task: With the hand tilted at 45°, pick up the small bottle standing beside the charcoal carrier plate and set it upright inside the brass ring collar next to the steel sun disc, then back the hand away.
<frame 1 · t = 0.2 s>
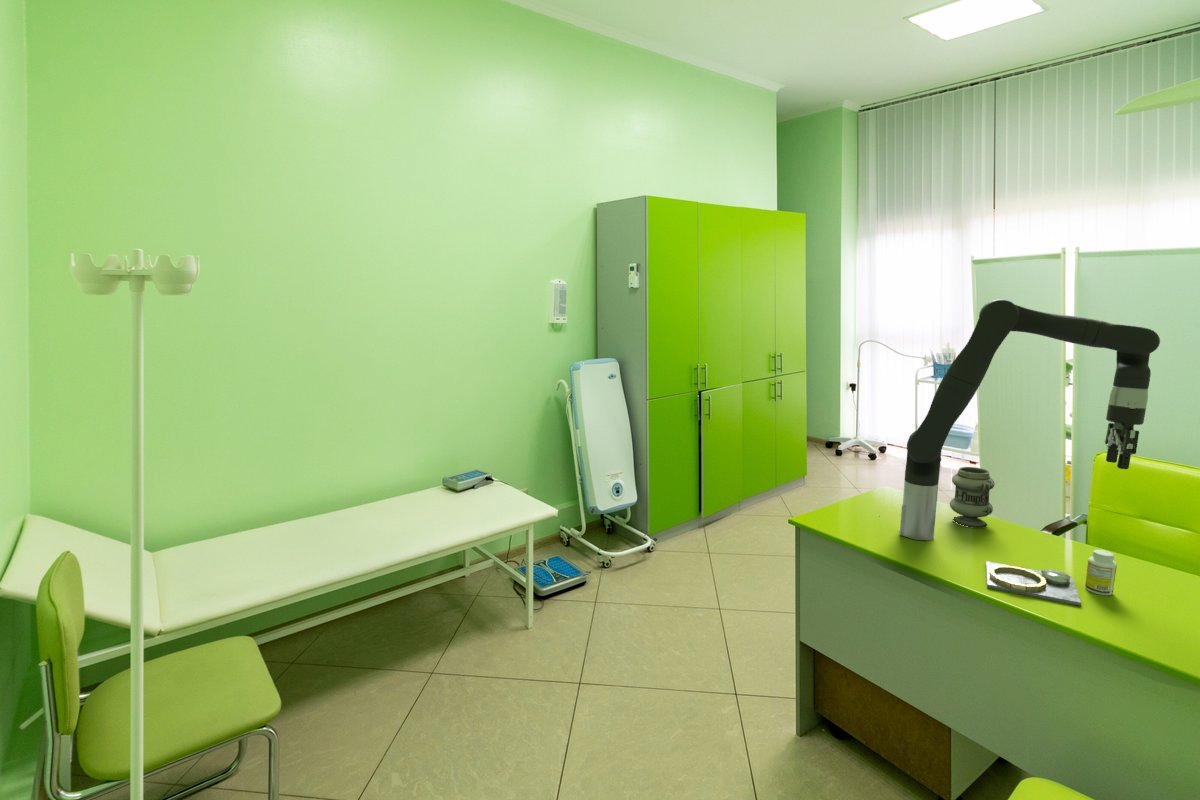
hand: (1116, 465, 162), 29 cm above the table, tool pointing down, fingers open, 8 cm apart
supplement bottle: (1098, 591, 154), on the table
carrier plate: (1029, 583, 158), on the table
apothecary jar: (969, 523, 201), on the table
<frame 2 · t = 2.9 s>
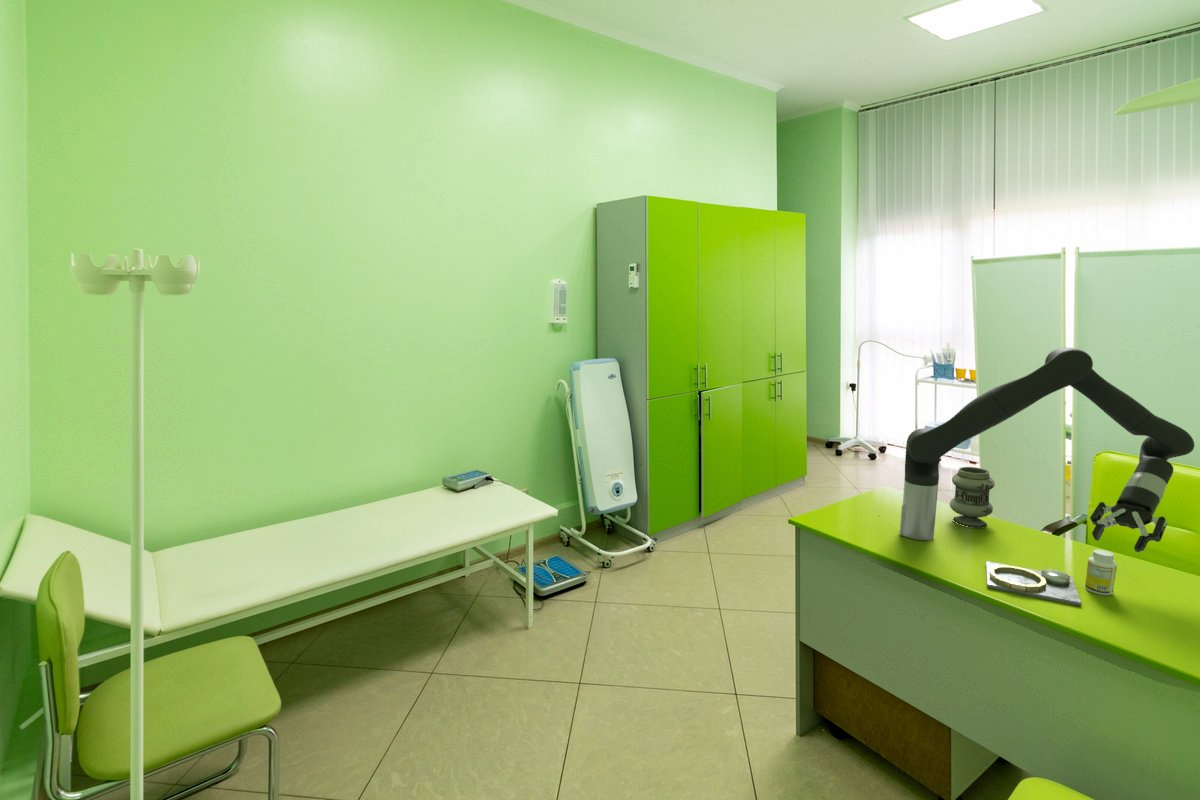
hand: (1115, 544, 156), 11 cm above the table, tool tilted 45°, fingers open, 8 cm apart
nothing on the table moved.
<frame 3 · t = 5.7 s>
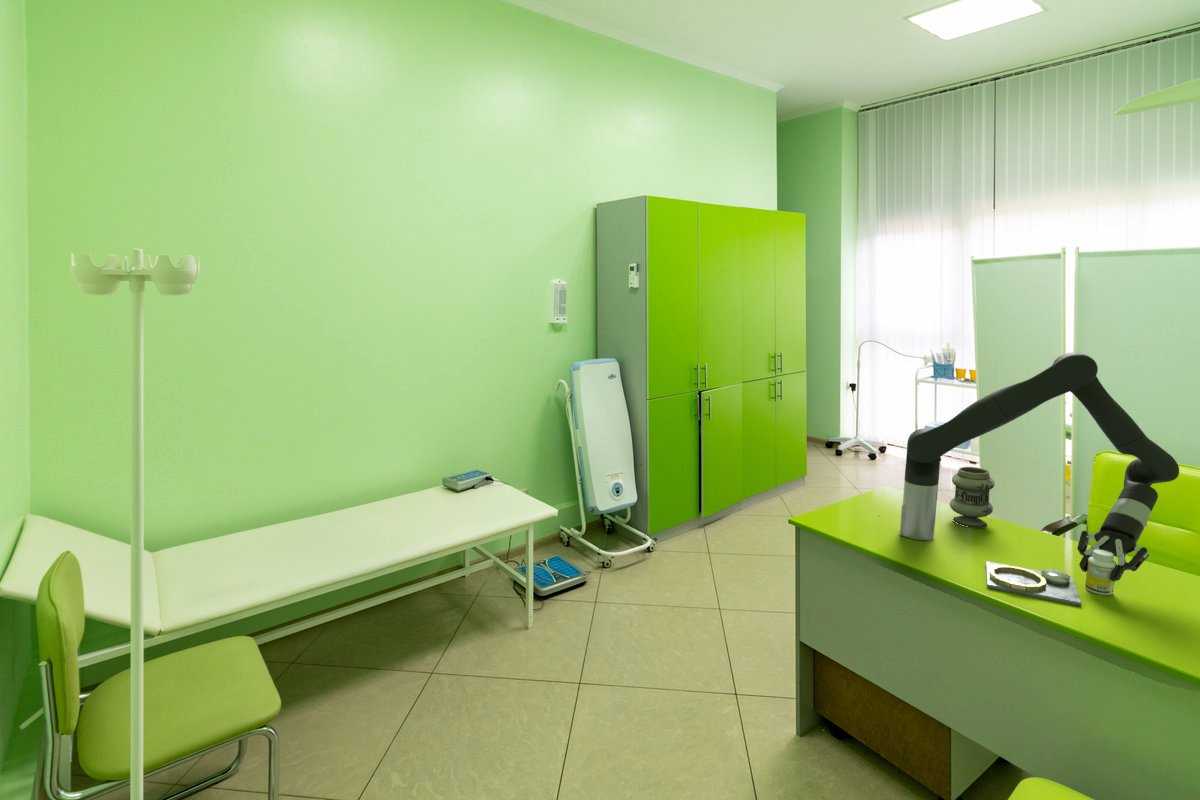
hand: (1097, 574, 153), 5 cm above the table, tool tilted 45°, fingers closed on supplement bottle, 5 cm apart
supplement bottle: (1098, 591, 154), on the table, touching gripper
everything else where it was.
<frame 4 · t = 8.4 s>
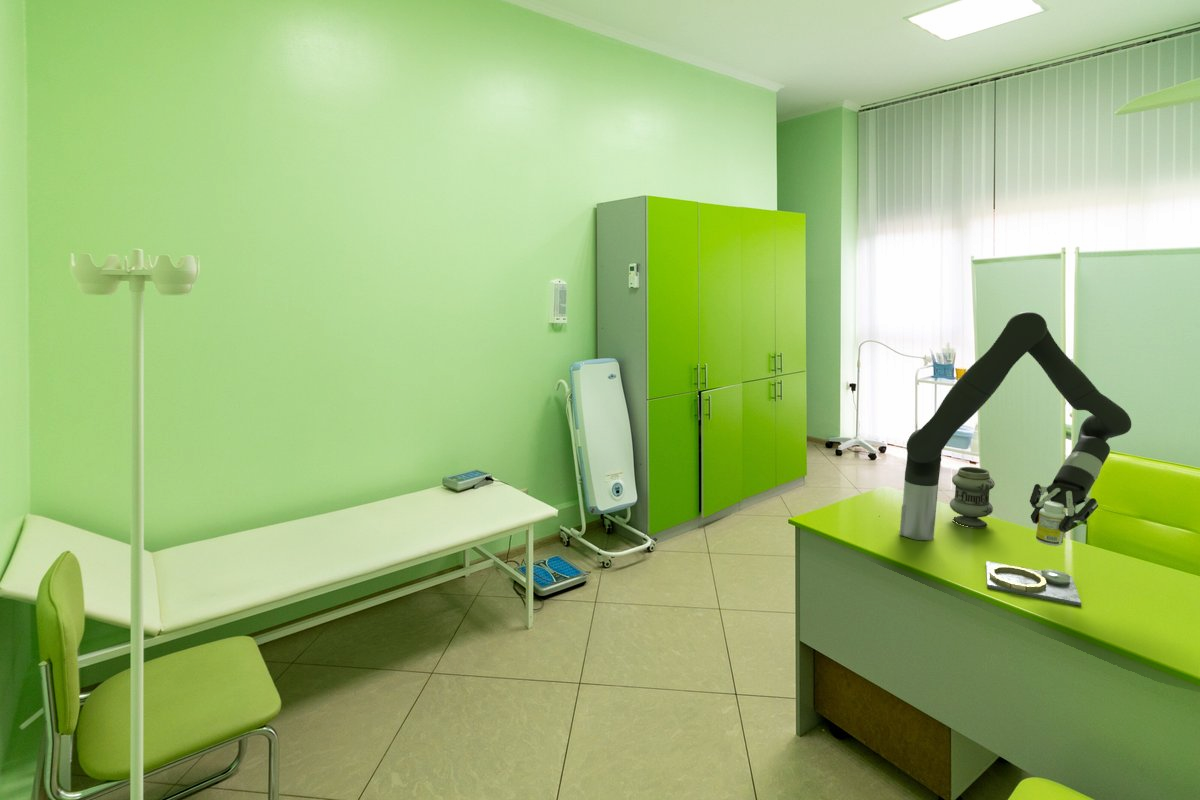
hand: (1047, 525, 154), 16 cm above the table, tool tilted 45°, fingers closed on supplement bottle, 5 cm apart
supplement bottle: (1048, 543, 156), point 11 cm above the table, touching gripper
everything else where it was.
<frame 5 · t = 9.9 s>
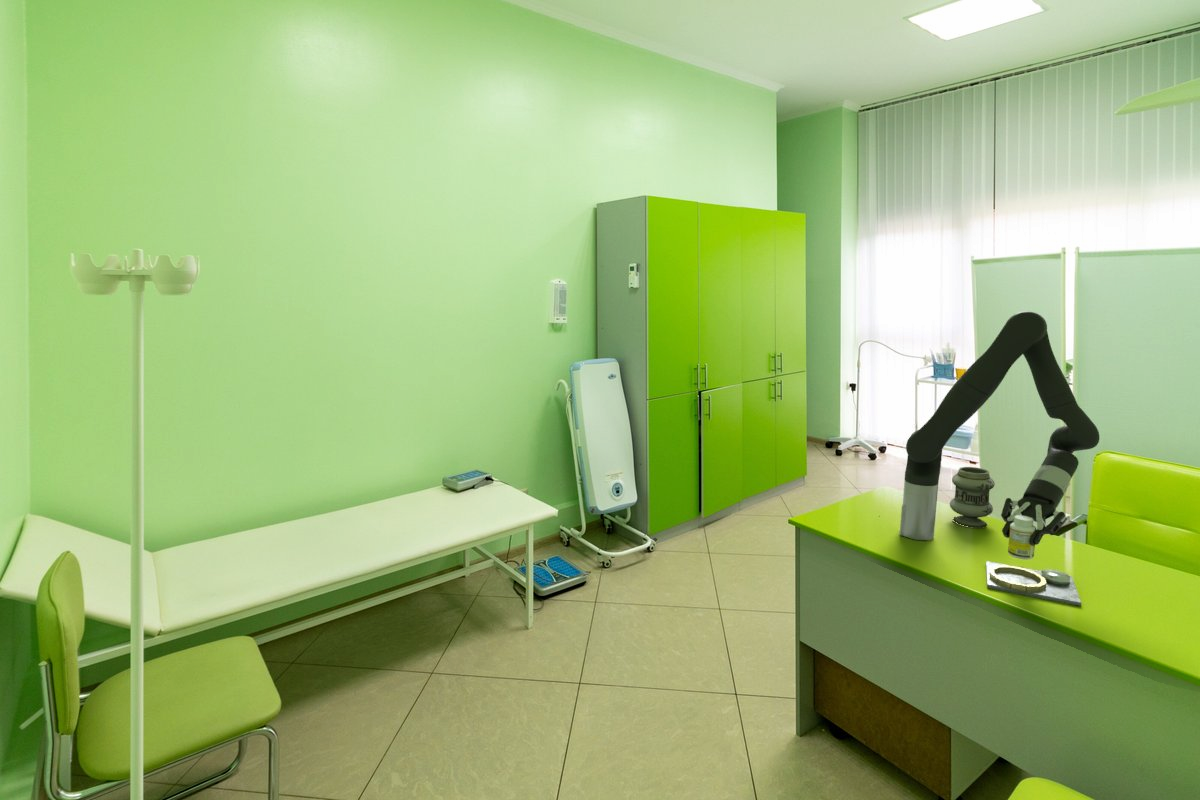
hand: (1018, 539, 156), 12 cm above the table, tool tilted 45°, fingers closed on supplement bottle, 5 cm apart
supplement bottle: (1020, 556, 157), point 7 cm above the table, touching gripper
everything else where it was.
when the fingers open (7 cm above the table, at t = 11.3 s): supplement bottle drops 1 cm, resting on carrier plate.
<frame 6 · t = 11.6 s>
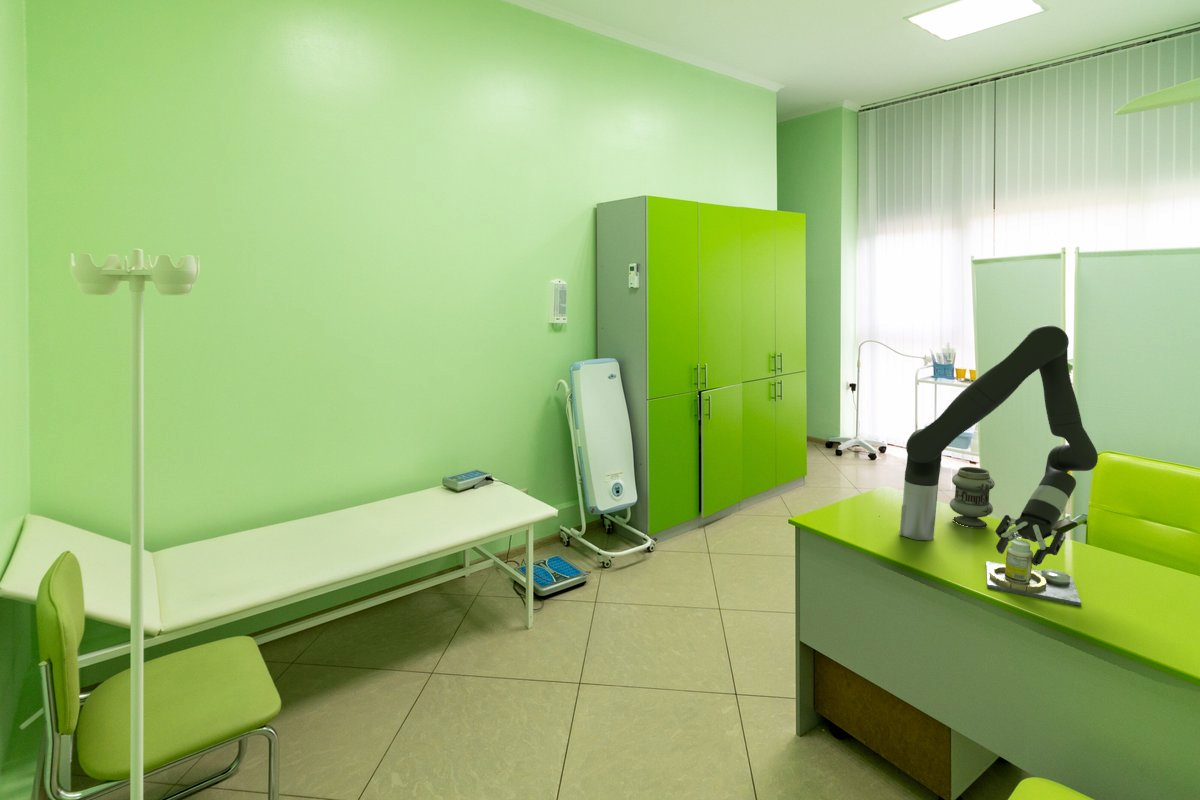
hand: (1016, 557, 157), 7 cm above the table, tool tilted 45°, fingers open, 8 cm apart
supplement bottle: (1016, 580, 159), point 1 cm above the table, touching carrier plate
everything else where it was.
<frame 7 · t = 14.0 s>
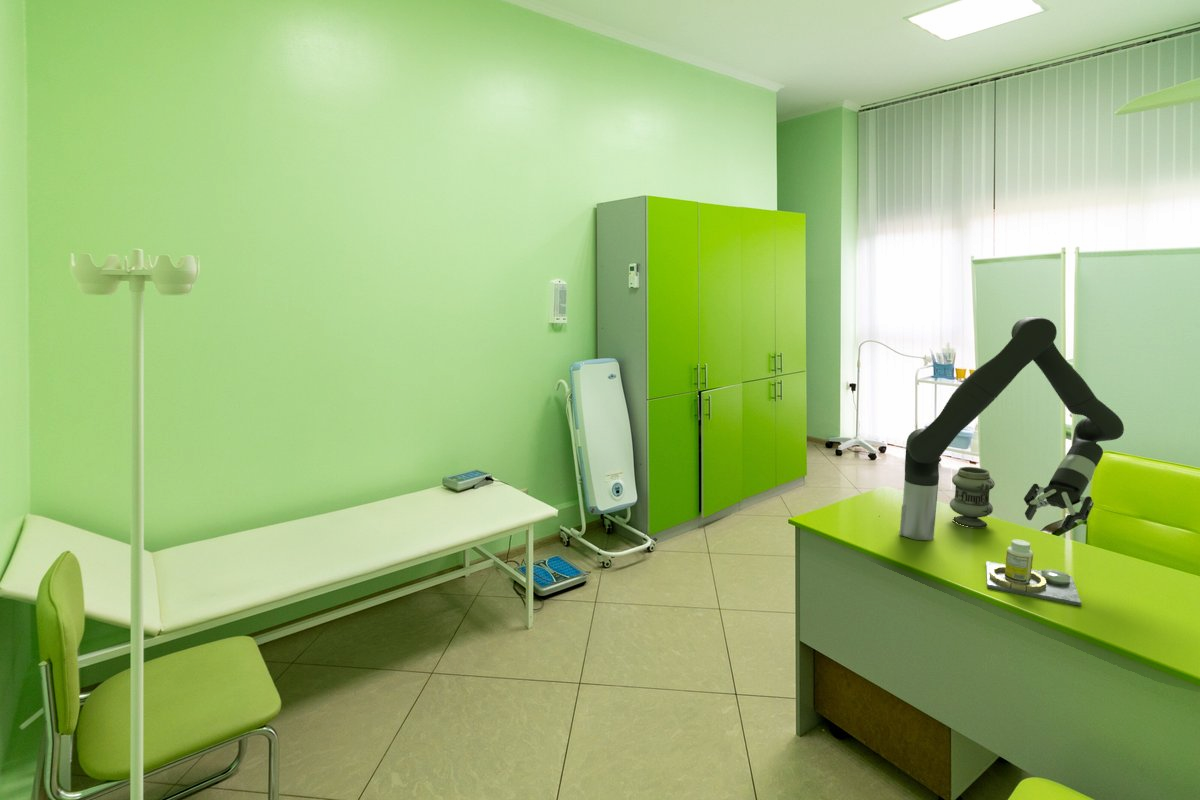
hand: (1045, 523, 162), 14 cm above the table, tool tilted 45°, fingers open, 8 cm apart
nothing on the table moved.
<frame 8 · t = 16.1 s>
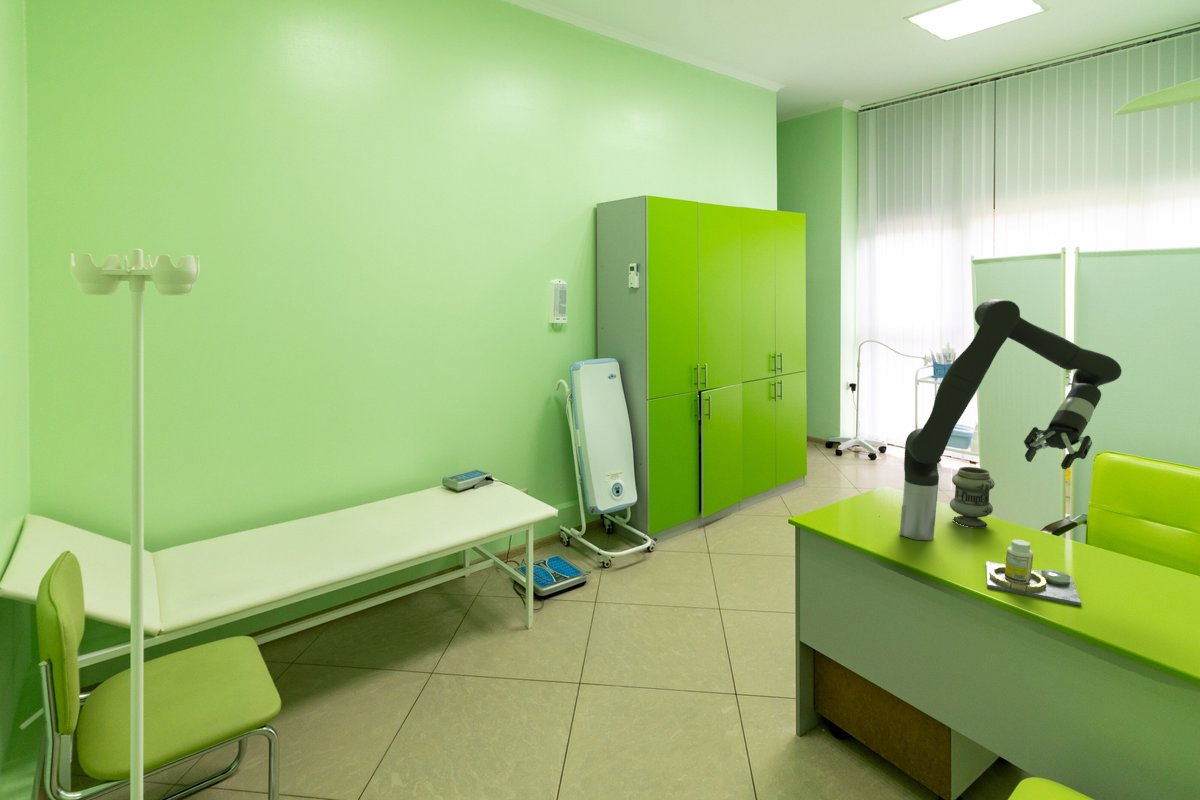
hand: (1045, 463, 165), 29 cm above the table, tool tilted 45°, fingers open, 8 cm apart
nothing on the table moved.
at the end: supplement bottle 0.1 cm from the target spot, point 0.8 cm above the table; supplement bottle tilted 0°; the gripper is holding nothing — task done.
